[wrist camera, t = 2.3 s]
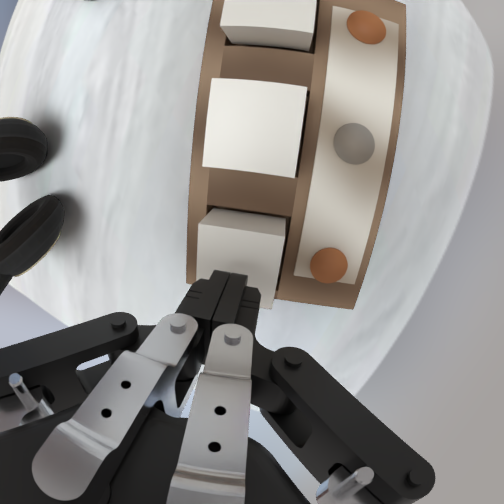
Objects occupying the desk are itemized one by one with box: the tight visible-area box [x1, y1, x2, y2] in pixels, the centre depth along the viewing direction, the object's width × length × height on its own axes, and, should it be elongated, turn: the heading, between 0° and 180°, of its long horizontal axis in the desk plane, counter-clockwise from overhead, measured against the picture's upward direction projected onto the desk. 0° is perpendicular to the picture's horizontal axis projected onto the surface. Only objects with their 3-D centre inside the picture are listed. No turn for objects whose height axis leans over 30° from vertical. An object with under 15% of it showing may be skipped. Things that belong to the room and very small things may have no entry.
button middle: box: [202, 78, 307, 178], centre depth 13 cm, size 4×4×3 cm
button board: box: [186, 0, 406, 309], centre depth 15 cm, size 20×11×4 cm, turn 174°
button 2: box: [220, 0, 317, 51], centre depth 10 cm, size 4×4×3 cm
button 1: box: [196, 208, 286, 309], centre depth 16 cm, size 4×4×3 cm
